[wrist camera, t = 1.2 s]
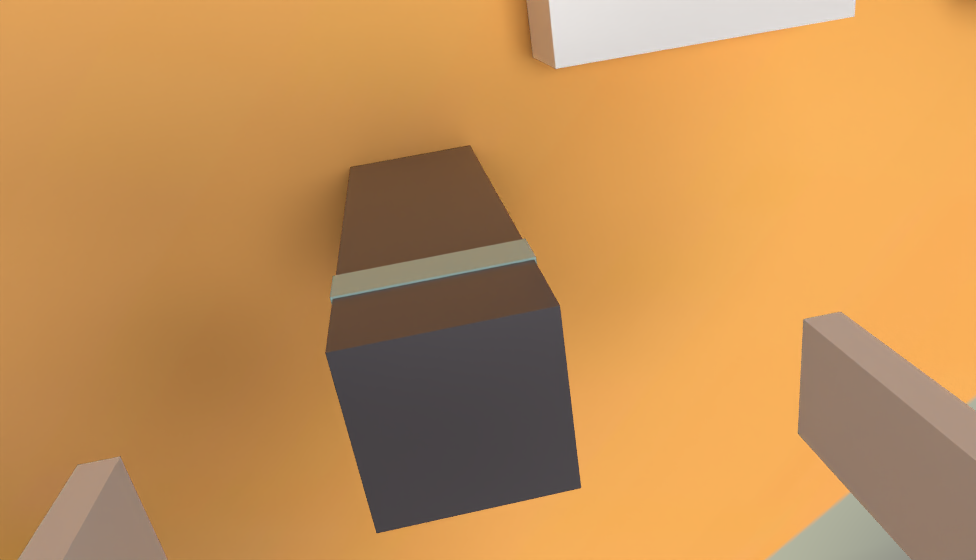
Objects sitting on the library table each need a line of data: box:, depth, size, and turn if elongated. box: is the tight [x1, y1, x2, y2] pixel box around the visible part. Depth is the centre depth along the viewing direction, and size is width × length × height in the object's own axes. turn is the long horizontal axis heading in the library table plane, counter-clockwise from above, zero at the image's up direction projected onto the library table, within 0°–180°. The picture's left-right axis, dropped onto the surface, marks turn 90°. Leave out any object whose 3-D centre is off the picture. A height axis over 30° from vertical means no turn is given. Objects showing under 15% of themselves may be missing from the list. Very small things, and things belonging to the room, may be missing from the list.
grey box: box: [325, 146, 581, 533], centre depth 20 cm, size 5×5×14 cm
